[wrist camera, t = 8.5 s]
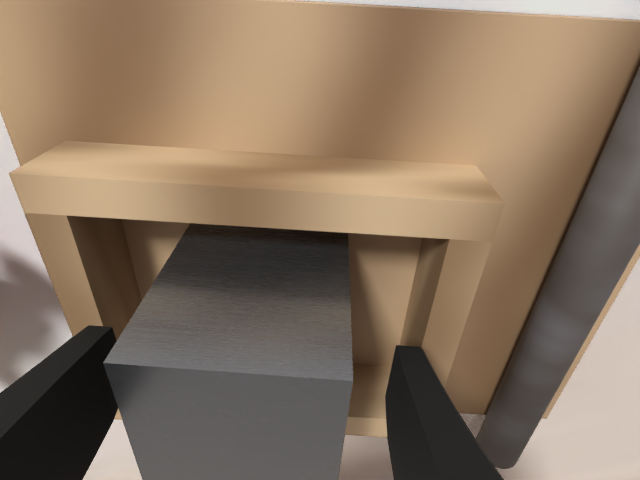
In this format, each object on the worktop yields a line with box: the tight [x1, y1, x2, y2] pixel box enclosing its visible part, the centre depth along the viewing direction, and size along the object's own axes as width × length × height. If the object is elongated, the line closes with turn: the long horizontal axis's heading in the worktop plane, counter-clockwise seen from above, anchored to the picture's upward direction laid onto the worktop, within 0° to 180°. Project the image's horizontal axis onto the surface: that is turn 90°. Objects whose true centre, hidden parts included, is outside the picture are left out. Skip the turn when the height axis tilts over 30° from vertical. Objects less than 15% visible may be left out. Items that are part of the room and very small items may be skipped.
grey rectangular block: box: [103, 223, 353, 480], centre depth 11 cm, size 4×4×6 cm
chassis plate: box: [0, 0, 640, 469], centre depth 12 cm, size 18×16×3 cm
